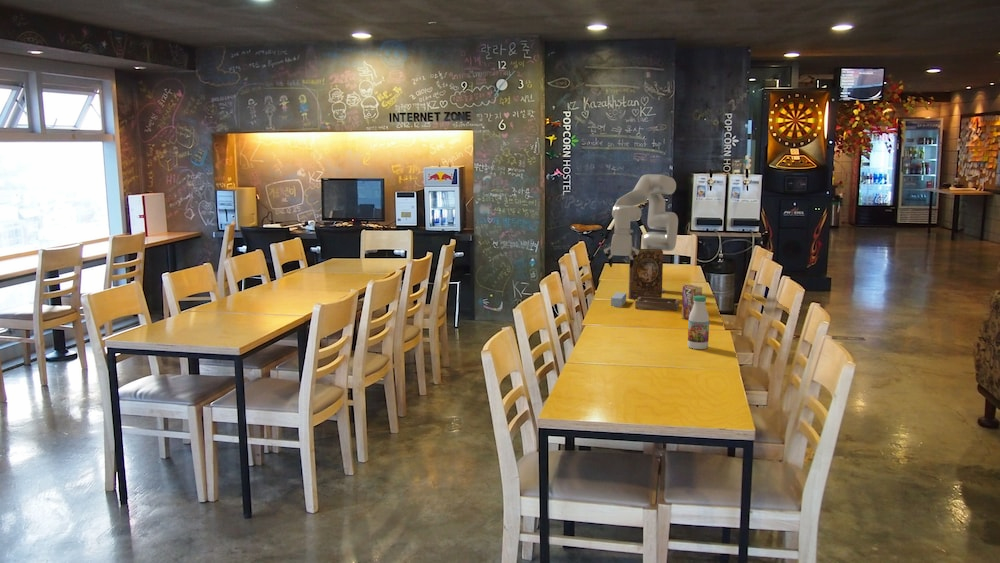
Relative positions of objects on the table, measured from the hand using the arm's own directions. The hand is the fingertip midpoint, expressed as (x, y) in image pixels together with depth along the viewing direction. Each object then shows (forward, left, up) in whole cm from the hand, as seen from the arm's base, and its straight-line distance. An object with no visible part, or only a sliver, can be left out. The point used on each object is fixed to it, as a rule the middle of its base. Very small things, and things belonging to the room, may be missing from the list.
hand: (620, 267), depth 386 cm
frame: (+3, +18, -18) cm, 26 cm away
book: (-18, +10, -18) cm, 27 cm away
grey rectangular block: (0, -1, -19) cm, 19 cm away
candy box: (+26, +36, -18) cm, 48 cm away
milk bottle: (+76, +42, -18) cm, 89 cm away
